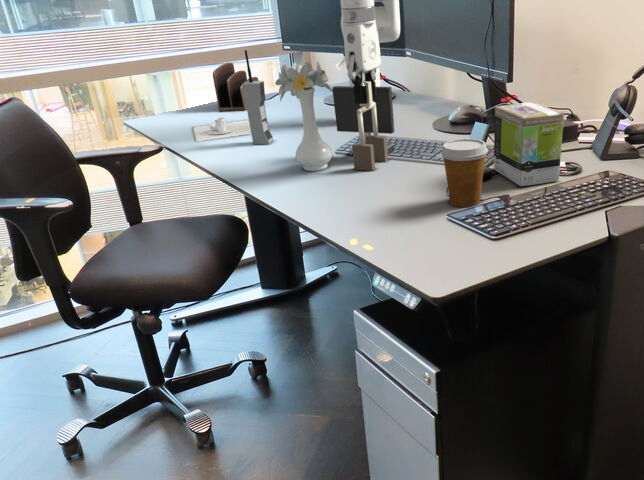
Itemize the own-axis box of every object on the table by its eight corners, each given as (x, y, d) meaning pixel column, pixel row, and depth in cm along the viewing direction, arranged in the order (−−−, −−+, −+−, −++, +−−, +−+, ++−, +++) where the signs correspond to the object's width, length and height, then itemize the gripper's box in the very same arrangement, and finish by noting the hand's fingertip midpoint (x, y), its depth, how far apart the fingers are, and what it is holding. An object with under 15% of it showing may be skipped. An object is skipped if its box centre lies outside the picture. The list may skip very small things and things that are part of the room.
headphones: (370, 158, 170) (363, 78, 159) (388, 159, 168) (382, 78, 158) (354, 169, 163) (345, 85, 152) (372, 170, 161) (364, 86, 150)
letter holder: (219, 111, 233) (210, 69, 226) (237, 99, 250) (230, 60, 242) (245, 110, 232) (237, 68, 224) (262, 98, 248) (255, 58, 241)
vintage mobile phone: (269, 144, 189) (253, 50, 176) (253, 144, 190) (236, 51, 177) (273, 141, 192) (258, 48, 179) (257, 141, 193) (241, 49, 180)
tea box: (560, 181, 145) (565, 112, 137) (519, 188, 143) (522, 118, 135) (530, 164, 157) (533, 99, 149) (492, 170, 155) (492, 105, 147)
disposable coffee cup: (439, 196, 142) (437, 140, 135) (482, 192, 142) (482, 136, 136) (445, 211, 134) (444, 152, 127) (491, 207, 134) (492, 148, 128)
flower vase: (325, 154, 176) (313, 54, 163) (349, 171, 162) (338, 62, 148) (279, 163, 172) (262, 60, 158) (299, 181, 158) (283, 70, 144)
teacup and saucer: (208, 130, 209) (205, 117, 207) (232, 127, 211) (230, 114, 209) (210, 136, 202) (207, 123, 200) (235, 133, 204) (233, 119, 202)
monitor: (350, 147, 181) (344, 82, 172) (403, 150, 175) (399, 82, 166) (339, 154, 176) (331, 87, 166) (393, 157, 170) (388, 88, 161)
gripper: (356, 20, 140) (364, 109, 150) (388, 11, 152) (394, 94, 162) (326, 21, 142) (336, 108, 152) (360, 12, 155) (367, 93, 165)
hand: (365, 100), depth 157 cm, fingers open, 4 cm apart
